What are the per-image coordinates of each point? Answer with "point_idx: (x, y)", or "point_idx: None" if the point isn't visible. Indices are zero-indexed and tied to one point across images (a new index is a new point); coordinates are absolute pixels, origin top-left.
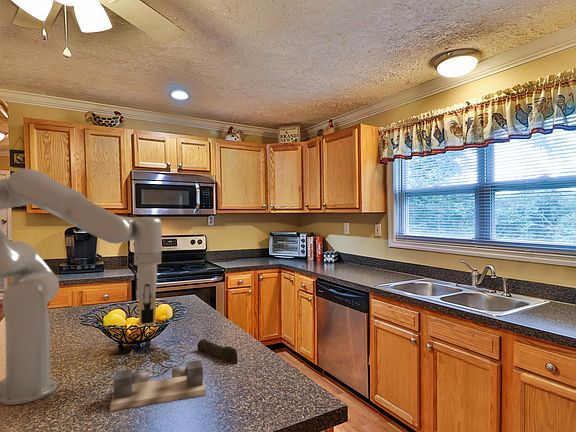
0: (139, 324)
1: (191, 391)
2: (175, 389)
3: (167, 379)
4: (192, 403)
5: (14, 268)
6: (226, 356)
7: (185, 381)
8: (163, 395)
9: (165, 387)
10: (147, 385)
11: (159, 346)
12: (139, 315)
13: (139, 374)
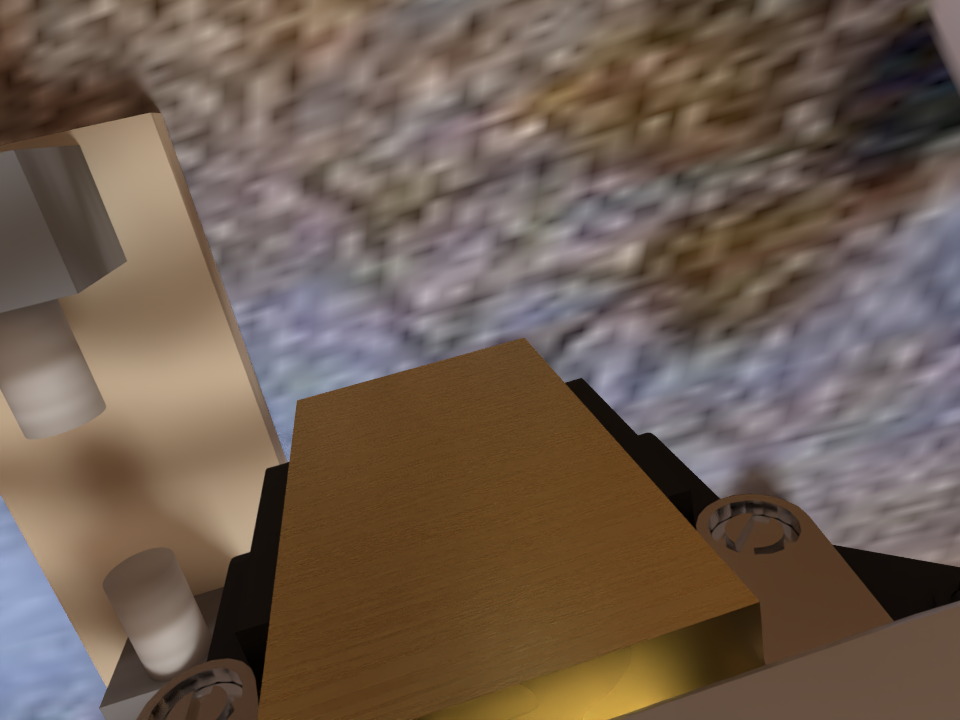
0: (295, 414)
1: (86, 644)
2: (108, 551)
3: (263, 462)
4: (20, 643)
5: None
6: None
7: None
8: (17, 504)
9: (136, 484)
10: (165, 357)
11: (929, 212)
12: (285, 494)
13: (5, 375)
